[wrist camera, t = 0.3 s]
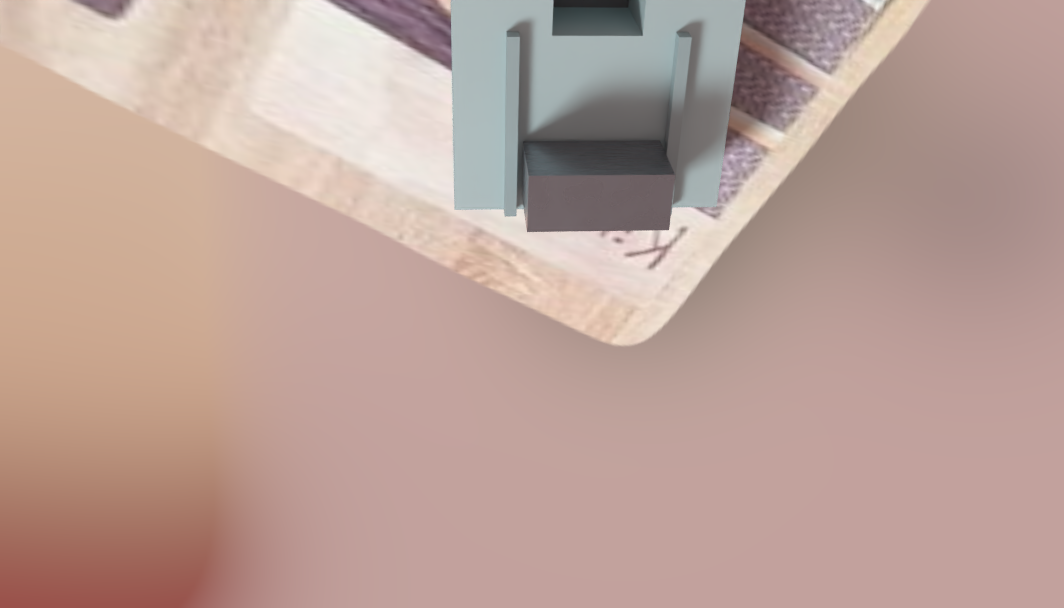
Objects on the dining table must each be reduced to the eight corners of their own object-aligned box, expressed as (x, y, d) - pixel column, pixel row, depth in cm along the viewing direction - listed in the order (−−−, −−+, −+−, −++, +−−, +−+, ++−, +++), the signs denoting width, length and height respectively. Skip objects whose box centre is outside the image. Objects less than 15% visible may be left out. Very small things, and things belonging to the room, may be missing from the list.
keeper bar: (523, 141, 50) (528, 175, 47) (660, 140, 51) (675, 174, 48) (521, 194, 52) (527, 231, 49) (654, 193, 52) (668, 230, 49)
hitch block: (447, -158, 47) (448, -137, 43) (737, -154, 48) (770, -132, 44) (453, 168, 57) (454, 216, 52) (696, 166, 58) (719, 213, 53)
